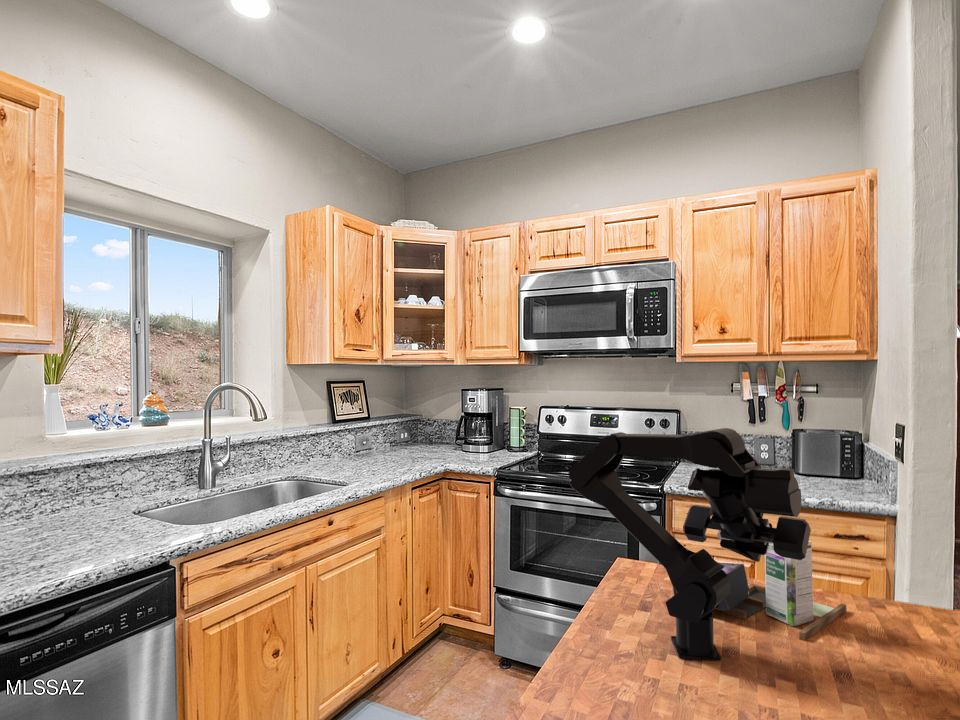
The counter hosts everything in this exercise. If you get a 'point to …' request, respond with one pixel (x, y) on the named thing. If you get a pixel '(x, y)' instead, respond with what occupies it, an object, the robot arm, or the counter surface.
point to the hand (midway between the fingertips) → (757, 559)
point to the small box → (734, 586)
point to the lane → (759, 602)
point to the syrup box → (789, 587)
